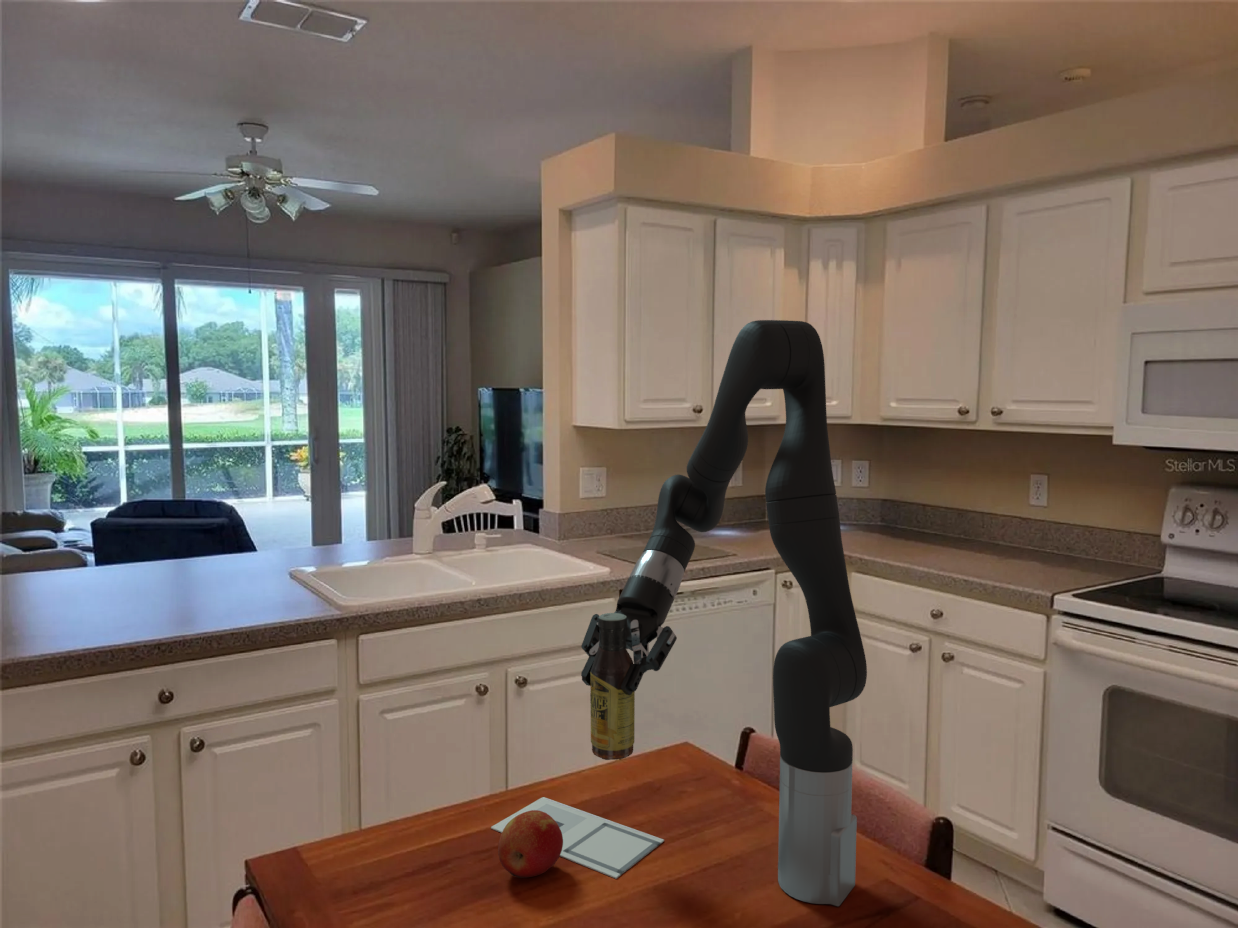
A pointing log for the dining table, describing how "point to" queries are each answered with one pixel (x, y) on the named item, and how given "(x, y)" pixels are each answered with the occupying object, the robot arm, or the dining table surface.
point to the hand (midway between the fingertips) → (605, 687)
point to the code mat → (593, 838)
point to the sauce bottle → (611, 692)
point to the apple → (530, 844)
